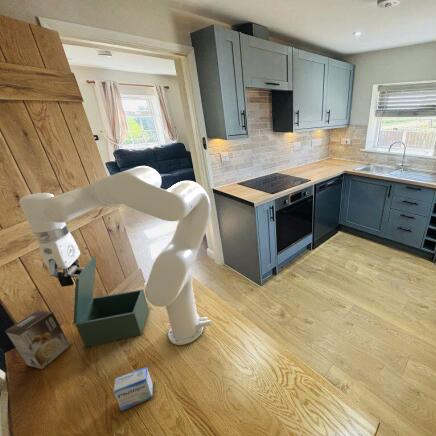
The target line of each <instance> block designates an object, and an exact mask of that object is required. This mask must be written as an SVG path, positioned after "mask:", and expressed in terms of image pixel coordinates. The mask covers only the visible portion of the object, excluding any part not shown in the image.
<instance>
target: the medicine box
mask: <svg viewBox="0 0 436 436" xmlns="http://www.w3.org/2000/svg"><path fill="white" fill-rule="evenodd" d="M153 386H154V385H153V381H152V377H151V374H150V372H149V369H148V367H147V366H144V367H142V368H139V369H137V370H134V371H131V372H129V373H126V374H124V375H121V376H118V377H116V378H114V385H113V390H112V391H113V395H114V397H115V399H116V402H117V404H118V406H119V407H118V408H119V410H120V411H121V412H123V411H125V410H127V409H130V408H131V407H134V406H136V405H138V404H141V403H144V402H146V401H148V400H150V399H152V398H153V391H154V390H153V388H154V387H153Z"/></svg>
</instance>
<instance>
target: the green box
mask: <svg viewBox="0 0 436 436" xmlns="http://www.w3.org/2000/svg"><path fill="white" fill-rule="evenodd" d="M147 301H148V300H147V297H146V294H145V290H144V288H143V289H137V290H132V291H131V290H130V291H125V292H119V293H113V294H108V295H102V296H96V297H93V298H92V299H91V301H90V303H89V304H88V306H87V307H86V309H85V311H84V312H83V314H82V315H81V317H80V319H79V320H78V322H77V323H76V324H75V327H76V329H77V332H78V333H79V335H80V338H81V340H82V342H83V344H84V347H85V348H88V347H91V346H97V345H101V344H105V343H110V342H115V341H118V340H124V339H128V338H132V337H137V336H141V335H142V333H143V330H144V327H145V324H146V320H147V317H148V313H149V310H150V309H149V305H148V302H147Z"/></svg>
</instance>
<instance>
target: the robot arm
mask: <svg viewBox="0 0 436 436" xmlns="http://www.w3.org/2000/svg"><path fill="white" fill-rule="evenodd" d="M161 186H162V177H161V175H160V173H159V172H158V171H157V170H156V169H155V168H153V167H152V166H151V167H150V166H146V165H140V166H135V167H133V168H129V169H125V170H124V171H123V170H122V171H120V172H117V173H114V174H112V175H108V176H106V177H105V176H104V177H101V178H100V179H97V181H96V182H93V183H90V184H87V185H84V186H81V187H78V188H75V189H72V190H69V191H66V192H63V193H60V194H57V195H53V194H51V193H50V192H37V193H31V194H27V195H24V196H22V197H21V198H20V199H19V207H20V208H21V210H22V212H23V214H24V216H25V219H26V221H27V223H28V225H29V227H30V229H31V232H32V234H33V236H34V238H35V240H36V242H37V243H38V247H39V251H40V254H41V256H42V259H43V262H44V264H45V266H46V268H47V269H48V273H49V274H48V276H49V277H54V278H56V279H57V280H58V282H59V284H60V286H61V287H63V288H64V287H71V286H74V284H75V282H74V281H73V277H71V275H70V274H69V275H68V269H69V268H70V267H71V266H73V265H75V266H77V267H78V268H81V267H80V263H79V262H80V261H79V260H78V258H79V257H80V256H81V250H80V249H79V246H78V244H77V242H76V240H75V238H74V236H73V235H72V232H70V231H69V228H68V226H67V224H66V222H69V221H71V220H73V219H76V218H78V217H79V216H81V215H83V214H85V213H87V212H90V211H92V210H94V209H98V208H99V207H103V206H108V207H118V206H120V205H124V206H126V207H128V208H130V209H133V210H136V211H138V212H141V213H144V214H146V215H149V216H151V217H154V218H157V219H159V220H162V221H167V222H177V225H176V228H175V231H174V234H173V236H172V238H171V240H170V242H169V243H168V244H167V245H166V246H165V247H164V249H162V251H161V252H160V253H159V254H158V255H157V257H156V258H155V260H154V262H153V264H152V267H151V270H150V273H149V276H148V279H147V281H146V285H145V289H144V294H145V298H146V300H147V301H148V302H149V303H150V304H151V305H153V306H155V307H159V308H161V307H165V309H166V313H167V316H168V320H169V325H170V328H169V330H168V333H167V337H168V340H169V342H171V344H174V345H177V346H183V345H188V344H190V343H192V342H194V341H195V340H197V339H198V338H199V337H200V336H201V335H202V333H203V331H204V328H205V327H208V326H211V325H212V320H211V319H208V316H203V317H201V316H200V314H199V313H198V309H197V306H196V300H195V294H194V288H193V270H192V265H193V264H194V262H195V261H196V259H197V256H198V253H199V251H200V247H201V245H202V243H203V239H204V237H205V234H206V231H207V228H208V226H209V223H210V219H211V214H212V206H211V205H212V204H211V199H210V197H209V195H208V193H207V191H206V189H204V188H203V186H202V185H200V184H199V183H197V182H195V181H193V180H182V181H180V182H177V183H175V184H173V185H172V186H171V187H168V188H167V189H164V188H162V187H161ZM60 270H62V271H60ZM81 272H82V271H81V270H76V272H75V273H74V274H75V275H79V274H80V273H81Z"/></svg>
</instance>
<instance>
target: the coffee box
mask: <svg viewBox="0 0 436 436" xmlns="http://www.w3.org/2000/svg"><path fill="white" fill-rule="evenodd" d="M4 332H5V334H6V335H7V336H8V338H9V340H10V341H11V343H12V344H13V346H14V347H15V349H16V350H17V352H18V353H19V355H20V356H21V358H22V359H23V361H24V362H25V364H26V365H27V366H28V367H32V368H37V369H39V370H40V369H41V370H42V369H44V368H45V367H46V366H48V365H49V364H50V363H52V362H53V361H54V360H55V359H57V357H59V356H60V355H61V354H62V353H63V352H65V351H66V350H67V349H68V348H69V347H70V346H71V344H70V342H69V340H68V338H67V336H66V334H65V333H64V330H63V328H62V327H61V325H60V323H59V322H58V320H57V317H56V316H55V314H54V312H51V311H47V310H41V309H37V310H36V311H34V312H33V313H31V314H29V315H28V316H26V317H24V318H23V319H21V320H20V321H18V322H16V323H15V324H13V325H12V326H10V327H8V328H7V329H6V330H4Z"/></svg>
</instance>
